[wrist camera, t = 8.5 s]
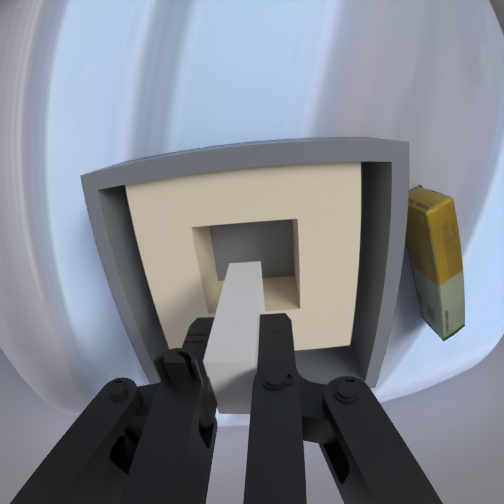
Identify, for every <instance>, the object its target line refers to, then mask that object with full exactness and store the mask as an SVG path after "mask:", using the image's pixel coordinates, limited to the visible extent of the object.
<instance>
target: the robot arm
mask: <svg viewBox="0 0 504 504" xmlns="http://www.w3.org/2000/svg"><path fill="white" fill-rule="evenodd" d="M153 362H154V365H155V367H156V369H157V372H158V374H159V376H160V378H161V382H159V383H155V384H151V385H145V386H139V387H137V386H136V384H135V382H134V381H132V380H131V379H128V378H117V379H114V380H112V381H110V382H108V383H107V384H106V385H105V386H104V387H103V388H102V389H101V391H100V392H99V393H98V394H97V395H96V397H95V398H94V399H93V400H92V401H91V403H90V404H89V405H88V406H87V407H86V409H85V410H84V411H83V412H82V413H81V415H80V416H79V417H78V418H77V419H76V421H75V422H74V423H73V424H72V426H71V427H70V428H69V429H68V430H67V432H66V433H65V434H64V435H63V437H62V438H61V439H60V440H59V442H58V443H57V444H56V445H55V446H54V448H53V449H52V450H51V452H50V453H49V454H48V455H47V457H46V458H45V459H44V460H43V462H42V463H41V464H40V465H39V467H38V468H37V469H36V470H35V472H34V473H33V474H32V476H31V477H30V478H29V479H28V481H27V482H26V483H25V485H24V486H23V487H22V488H21V490H20V491H19V492H18V494H17V495H16V496H15V498H14V499H13V501H12V502H11V503H10V504H206V497H207V491H208V484H209V478H210V471H211V464H212V458H213V452H214V445H215V438H216V432H217V420H216V417H215V414H216V408H218V411H219V413H220V414H250V426H249V440H248V454H247V466H246V479H245V491H244V503H243V504H307V503H306V480H305V462H304V446H303V440H304V441H310V442H315V443H319V446H320V448H321V450H322V453H323V455H324V457H325V459H326V462H327V464H328V467H329V469H330V471H331V474H332V476H333V478H334V481H335V483H336V485H337V487H338V490H339V492H340V494H341V497H342V499H343V501H344V504H443V503H442V502H441V500H440V498H439V497H438V495H437V493H436V492H435V490H434V488H433V487H432V485H431V484H430V482H429V480H428V479H427V477H426V475H425V474H424V472H423V471H422V469H421V467H420V466H419V464H418V463H417V461H416V459H415V458H414V456H413V455H412V453H411V451H410V450H409V448H408V447H407V445H406V443H405V442H404V441H403V439H402V437H401V436H400V434H399V433H398V431H397V430H396V428H395V426H394V425H393V423H392V422H391V420H390V419H389V417H388V415H387V414H386V412H385V411H384V409H383V408H382V406H381V405H380V403H379V402H378V400H377V399H376V397H375V396H374V394H373V392H372V391H371V389H370V388H369V386H368V385H367V384H366V383H365V382H364V381H363V380H361V379H359V378H357V377H353V376H342V377H337V378H335V379H333V380H331V381H330V382H329V383H328V384H320V383H315V382H311V381H308V380H306V379H305V378H303V377H302V376H301V375H300V374H299V372H298V371H297V368H296V360H295V350H294V340H293V331H292V321H291V319H290V318H289V317H288V316H287V314H286V313H276V314H265V303H264V292H263V282H262V271H261V261H256V262H241V263H229V266H228V270H227V274H226V277H225V281H224V284H223V288H222V292H221V296H220V299H219V303H218V307H217V310H216V314H215V317H201V318H197V319H196V320H195V321H194V322H193V323H192V324H191V325H190V326H189V329H188V332H187V336H186V337H185V340H184V343H183V345H182V348H173V349H169V350H166V351H163V352H162V353H161V354H159V355H158V356H157V357H156V358H155V360H154V361H153Z"/></svg>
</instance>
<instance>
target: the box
mask: <svg viewBox="0 0 504 504" xmlns="http://www.w3.org/2000/svg"><path fill="white" fill-rule="evenodd" d="M81 181H82V186H83V191H84V196H85V201H86V205H87V210H88V214H89V218H90V222H91V226H92V230H93V234H94V237H95V241H96V245H97V248H98V252H99V255H100V258H101V262H102V265H103V268H104V271H105V274H106V277H107V280H108V283H109V286H110V289H111V292H112V295H113V298H114V301H115V303H116V306H117V309H118V311H119V314H120V316H121V319H122V322H123V324H124V327H125V329H126V332H127V334H128V336H129V339H130V341H131V343H132V346H133V348H134V350H135V353H136V355H137V357H138V359H139V361H140V364H141V366H142V368H143V370H144V372H145V374H146V376H147V378H148V380H149V382H150V384H155V383H159V382H161V378H160V376H159V374H158V372H157V369H156V367H155V365H154V362H153V361H154V360H155V358H156V357H157V356H158V355H159V354H161V353H162V352H163V351H166V350H169V349H173V348H182V345H183V343H184V340H185V337H186V336H187V332H188V329H189V326H190V325H191V324H192V323H193V322H194V321H195V320H196V319H197V318H201V317H215V314H216V310H217V307H218V303H219V299H220V296H221V292H222V288H223V284H224V281H225V277H226V274H227V270H228V266H229V263H241V262H256V261H261V271H262V282H263V292H264V303H265V314H276V313H286V314H287V316H288V317H289V318H290V319H291V321H292V331H293V340H294V350H295V360H296V368H297V371H298V372H299V374H300V375H301V376H302V377H303V378H305V379H306V380H308V381H311V382H315V383H320V384H328V383H329V382H330V381H331V380H333V379H335V378H337V377H342V376H353V377H357V378H359V379H361V380H363V381H364V382H365V383H366V384H367V385H368V386H369V388H374V387H376V383H377V380H378V377H379V373H380V370H381V366H382V363H383V359H384V355H385V351H386V347H387V343H388V339H389V335H390V330H391V326H392V321H393V316H394V311H395V306H396V301H397V295H398V289H399V283H400V277H401V270H402V263H403V255H404V246H405V237H406V226H407V212H408V194H409V142H402V141H395V140H387V139H379V138H359V137H335V138H301V139H283V140H268V141H256V142H246V143H236V144H227V145H219V146H212V147H204V148H197V149H191V150H184V151H178V152H172V153H167V154H161V155H156V156H151V157H145V158H141V159H136V160H131V161H127V162H122V163H119V164H116V165H112V166H109V167H106V168H102V169H99V170H96V171H93V172H90V173H87V174H84V175H81Z"/></svg>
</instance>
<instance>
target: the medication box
mask: <svg viewBox="0 0 504 504" xmlns="http://www.w3.org/2000/svg"><path fill="white" fill-rule="evenodd" d="M406 241H407V245H408V249H409V253H410V258H411V262H412V267H413V272H414V277H415V282H416V288H417V293H418V299H419V305H420V312H421V317H422V318H423V319H424V320H425V321H426V323H427V324H428V325H429V326H430V327H431V328H432V329H433V330H434V331H435V332H436V333H437V334H438V335H439V337H441V339H442V340H443V341H445V340H447V339H448V338H450V337H451V336H453V335H454V334H456V333H457V332H458V331H459V330H460V329H462V328H463V327H464V326H465V325H464V324H465V296H464V276H463V264H462V254H461V245H460V237H459V230H458V224H457V218H456V212H455V207H454V201H453V198H451V197H450V196H446V195H444V194H441V193H438V192H435V191H432V190H428V189H425V188H423V186H421V185H419V186H418V187H416V188H414V189H412V190H410V191H409V194H408V212H407V226H406Z"/></svg>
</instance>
